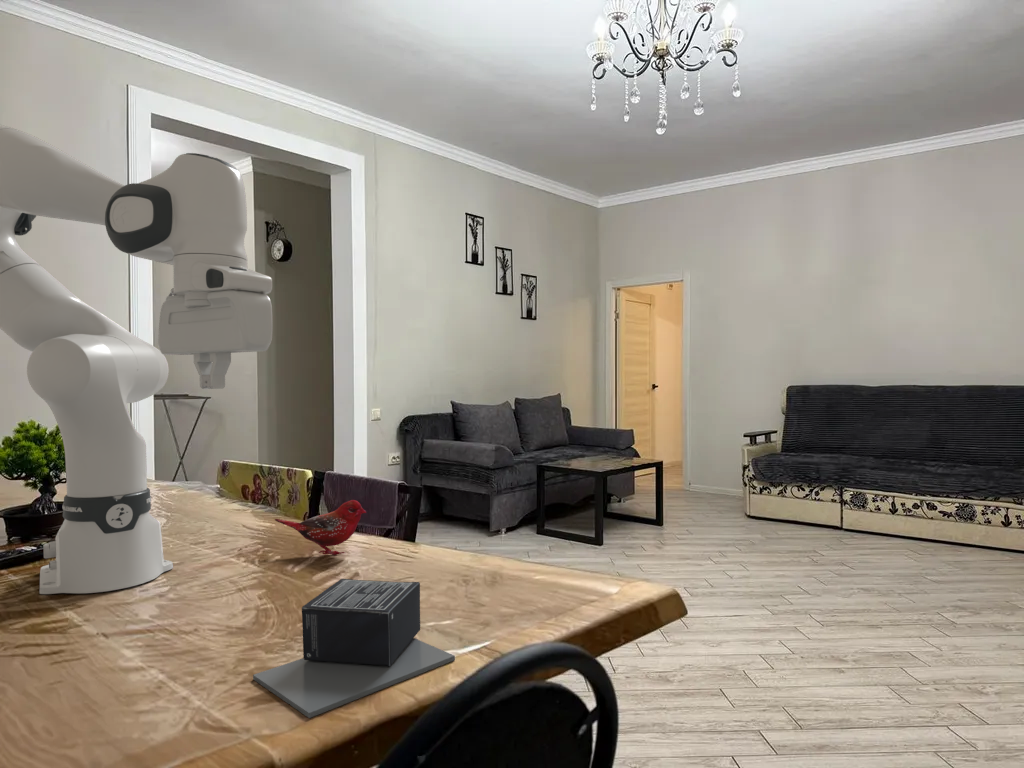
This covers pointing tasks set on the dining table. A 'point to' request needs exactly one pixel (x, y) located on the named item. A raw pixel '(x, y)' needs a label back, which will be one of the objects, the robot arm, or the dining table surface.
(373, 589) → the small box
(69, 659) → the dining table surface
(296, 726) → the dining table surface
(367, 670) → the slate tile
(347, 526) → the decorative bird figurine
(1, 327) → the robot arm
